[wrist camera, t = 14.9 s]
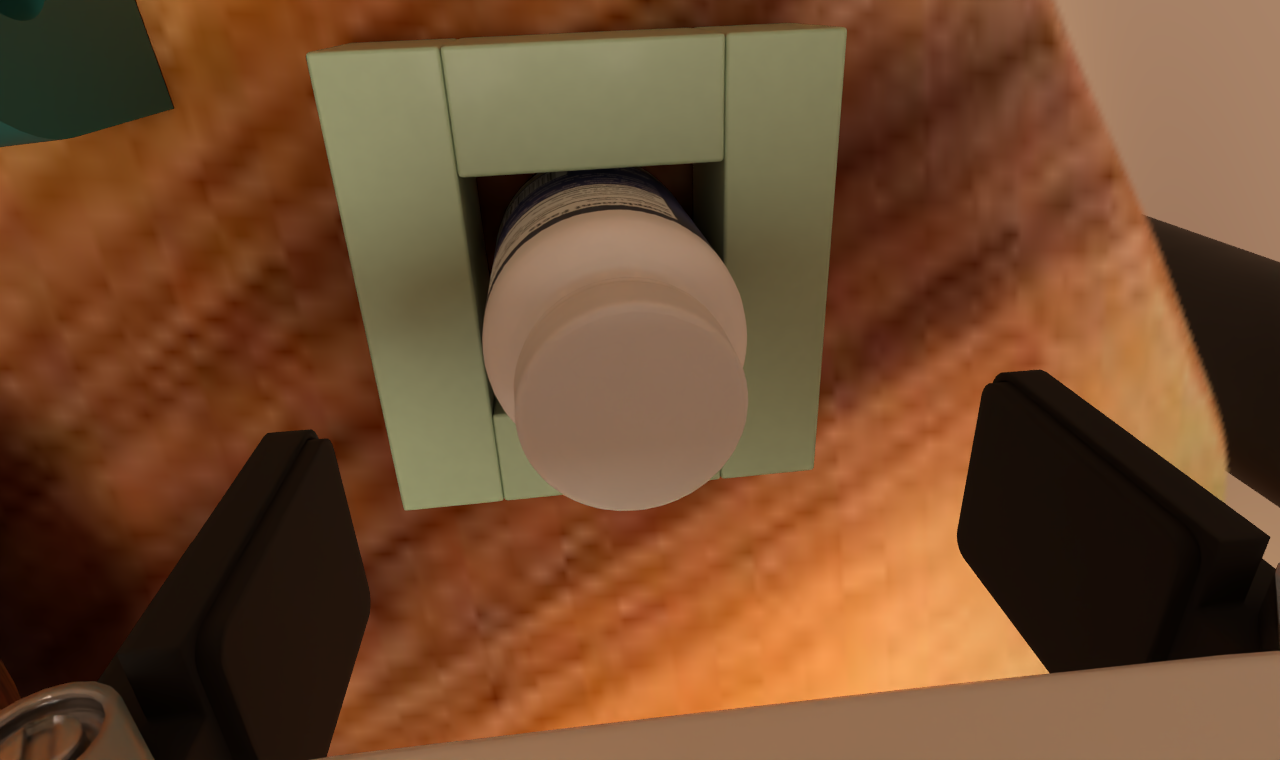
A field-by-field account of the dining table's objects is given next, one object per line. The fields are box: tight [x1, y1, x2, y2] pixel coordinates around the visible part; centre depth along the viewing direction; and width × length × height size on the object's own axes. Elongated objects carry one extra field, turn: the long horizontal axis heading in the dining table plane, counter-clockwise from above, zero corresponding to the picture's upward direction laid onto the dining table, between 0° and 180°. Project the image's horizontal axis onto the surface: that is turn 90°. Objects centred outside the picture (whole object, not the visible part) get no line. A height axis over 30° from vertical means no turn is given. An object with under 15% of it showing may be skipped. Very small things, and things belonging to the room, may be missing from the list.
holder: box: [306, 23, 847, 510], centre depth 20 cm, size 11×11×4 cm
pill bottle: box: [482, 167, 748, 511], centre depth 17 cm, size 5×5×10 cm
